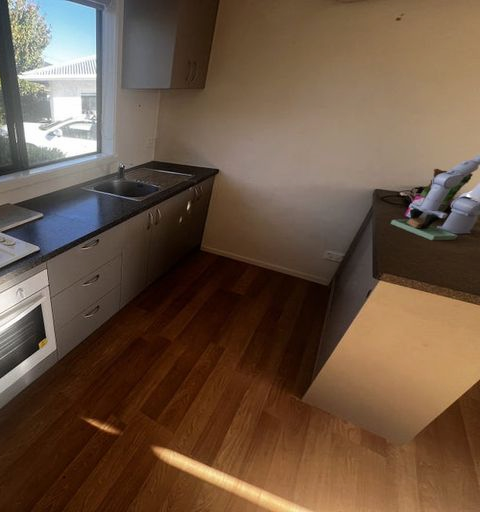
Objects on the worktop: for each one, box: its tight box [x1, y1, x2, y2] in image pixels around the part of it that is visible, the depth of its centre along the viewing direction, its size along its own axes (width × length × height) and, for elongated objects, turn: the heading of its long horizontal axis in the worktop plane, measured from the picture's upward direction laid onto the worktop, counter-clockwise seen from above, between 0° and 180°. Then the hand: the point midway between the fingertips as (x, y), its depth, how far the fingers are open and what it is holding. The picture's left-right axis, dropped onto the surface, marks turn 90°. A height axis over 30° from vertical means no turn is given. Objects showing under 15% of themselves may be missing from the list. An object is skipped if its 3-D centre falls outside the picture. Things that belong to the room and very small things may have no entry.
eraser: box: [405, 217, 434, 229], centre depth 141 cm, size 8×4×4 cm, turn 96°
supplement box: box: [404, 195, 428, 219], centre depth 153 cm, size 6×6×12 cm
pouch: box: [419, 168, 474, 215], centre depth 153 cm, size 11×12×25 cm
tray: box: [390, 219, 459, 241], centre depth 140 cm, size 12×19×2 cm, turn 6°
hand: (417, 226), depth 141 cm, fingers closed on eraser, 5 cm apart
